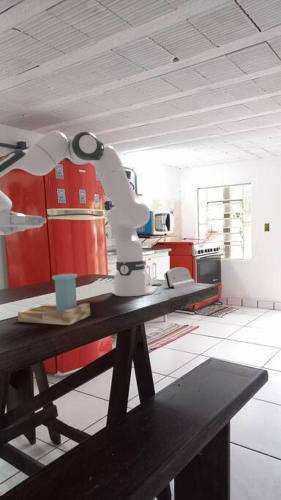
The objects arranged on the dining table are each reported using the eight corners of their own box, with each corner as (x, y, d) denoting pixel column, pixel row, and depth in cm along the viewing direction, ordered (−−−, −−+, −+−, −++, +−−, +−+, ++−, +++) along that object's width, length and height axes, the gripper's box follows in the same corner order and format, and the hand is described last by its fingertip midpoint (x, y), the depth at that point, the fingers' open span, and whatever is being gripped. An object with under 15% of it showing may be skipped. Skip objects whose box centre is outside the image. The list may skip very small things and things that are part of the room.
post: (65, 313, 112) (62, 273, 112) (79, 314, 110) (77, 273, 110) (54, 317, 107) (52, 276, 107) (69, 318, 105) (67, 276, 105)
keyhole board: (43, 312, 120) (42, 301, 120) (90, 315, 112) (89, 303, 112) (18, 321, 109) (17, 308, 109) (69, 325, 101) (68, 311, 101)
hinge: (174, 288, 158) (168, 267, 160) (167, 291, 161) (160, 271, 163) (196, 283, 170) (189, 264, 172) (188, 286, 173) (182, 267, 175)
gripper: (-22, 212, 111) (12, 208, 105) (23, 214, 129) (54, 211, 124) (-20, 231, 111) (13, 229, 106) (24, 231, 130) (55, 229, 124)
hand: (35, 219), depth 115 cm, fingers open, 8 cm apart
